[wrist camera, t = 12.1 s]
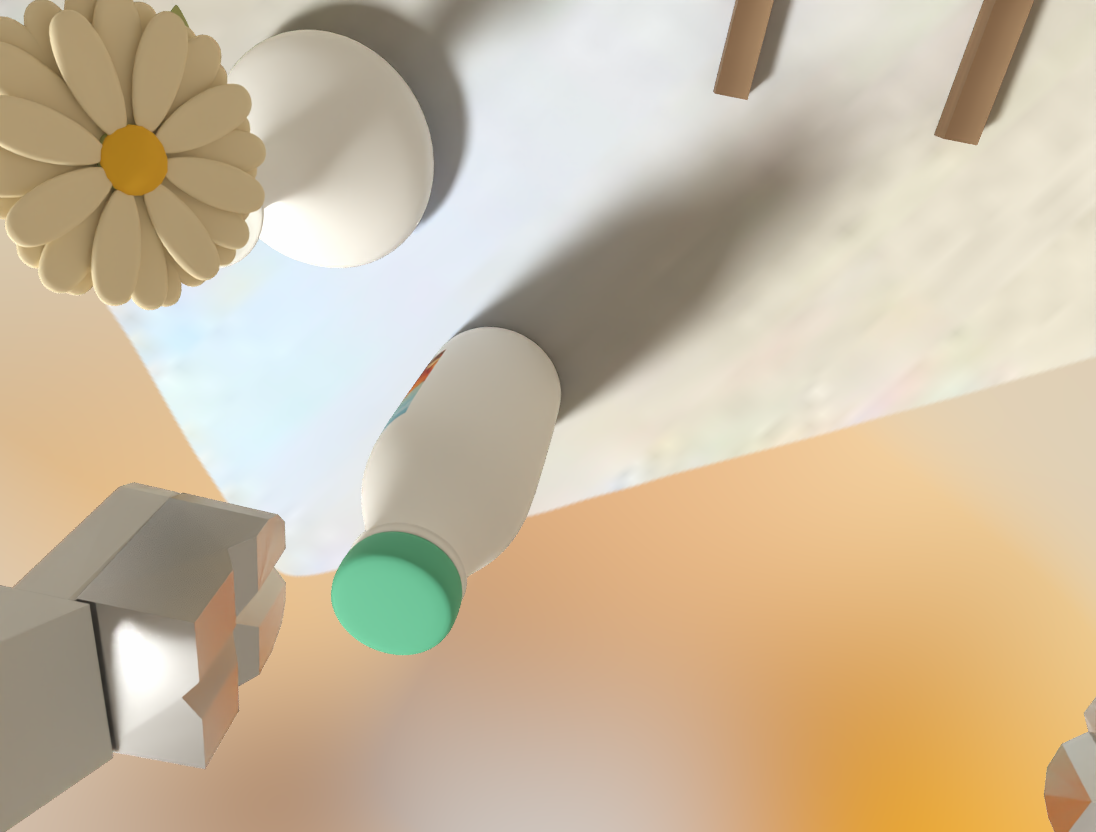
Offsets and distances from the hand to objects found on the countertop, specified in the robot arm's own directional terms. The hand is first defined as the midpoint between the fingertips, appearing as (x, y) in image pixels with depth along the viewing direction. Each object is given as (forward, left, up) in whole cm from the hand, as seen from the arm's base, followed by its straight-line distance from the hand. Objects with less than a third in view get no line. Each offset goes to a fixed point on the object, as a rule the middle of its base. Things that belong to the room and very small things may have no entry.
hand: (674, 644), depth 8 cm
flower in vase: (-17, -2, -36) cm, 39 cm away
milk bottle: (-7, -14, -36) cm, 39 cm away
